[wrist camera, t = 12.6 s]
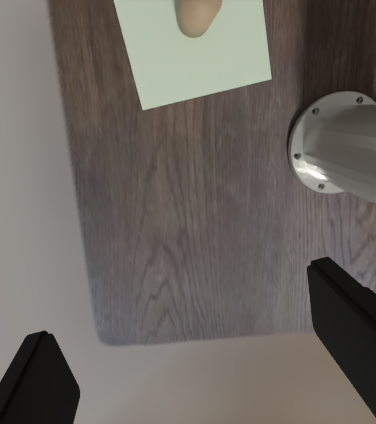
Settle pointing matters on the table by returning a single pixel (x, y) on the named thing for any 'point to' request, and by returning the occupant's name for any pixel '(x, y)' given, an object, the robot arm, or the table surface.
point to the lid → (193, 47)
